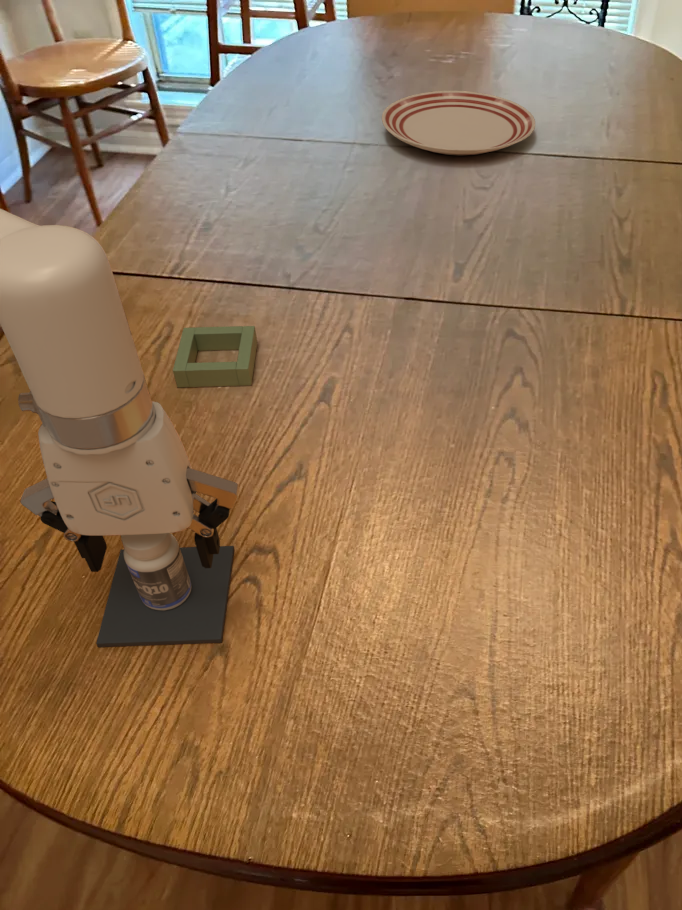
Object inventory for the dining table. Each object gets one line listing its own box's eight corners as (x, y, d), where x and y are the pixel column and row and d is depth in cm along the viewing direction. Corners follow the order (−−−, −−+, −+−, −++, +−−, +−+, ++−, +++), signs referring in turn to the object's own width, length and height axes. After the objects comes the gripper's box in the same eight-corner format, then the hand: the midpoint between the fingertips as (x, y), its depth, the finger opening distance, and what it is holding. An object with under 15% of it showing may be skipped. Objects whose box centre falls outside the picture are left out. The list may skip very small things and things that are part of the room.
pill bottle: (131, 606, 72) (104, 546, 66) (155, 567, 75) (132, 507, 69) (178, 617, 71) (156, 557, 65) (201, 577, 74) (181, 517, 68)
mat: (97, 647, 70) (95, 643, 69) (122, 553, 77) (120, 549, 77) (221, 642, 70) (220, 639, 70) (234, 549, 77) (233, 545, 77)
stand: (177, 387, 94) (172, 370, 92) (187, 344, 100) (183, 327, 98) (251, 385, 94) (248, 368, 93) (257, 342, 100) (254, 325, 98)
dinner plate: (476, 95, 155) (477, 77, 152) (564, 145, 139) (567, 125, 137) (354, 126, 145) (353, 106, 143) (435, 182, 130) (436, 162, 127)
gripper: (-42, 444, 54) (45, 595, 67) (211, 436, 54) (249, 588, 67) (-9, 376, 59) (66, 529, 72) (223, 370, 59) (256, 523, 72)
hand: (154, 557), depth 69 cm, fingers open, 9 cm apart
